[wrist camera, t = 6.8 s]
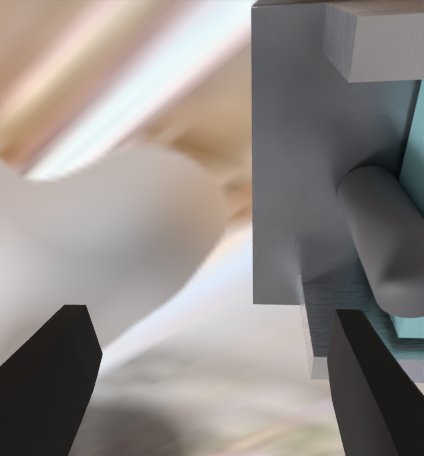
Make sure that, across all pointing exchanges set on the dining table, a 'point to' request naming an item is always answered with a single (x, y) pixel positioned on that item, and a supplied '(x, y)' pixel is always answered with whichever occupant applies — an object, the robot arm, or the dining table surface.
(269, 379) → the dining table surface
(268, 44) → the press
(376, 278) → the ram
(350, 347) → the robot arm
